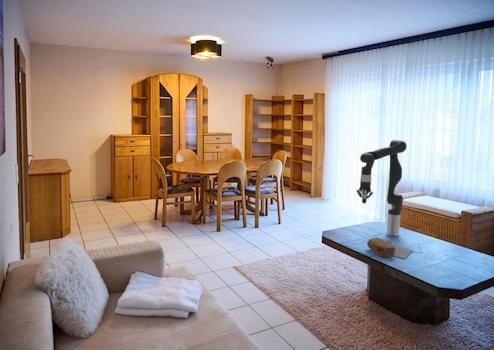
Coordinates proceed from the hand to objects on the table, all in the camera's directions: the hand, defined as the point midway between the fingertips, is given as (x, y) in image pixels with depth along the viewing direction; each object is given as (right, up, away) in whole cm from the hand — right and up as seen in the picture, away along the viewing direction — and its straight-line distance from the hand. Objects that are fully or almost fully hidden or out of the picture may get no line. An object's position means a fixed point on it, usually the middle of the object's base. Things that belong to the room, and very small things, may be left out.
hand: (364, 203), depth 302 cm
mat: (+16, -33, -17) cm, 40 cm away
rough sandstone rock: (+3, -27, -12) cm, 30 cm away
